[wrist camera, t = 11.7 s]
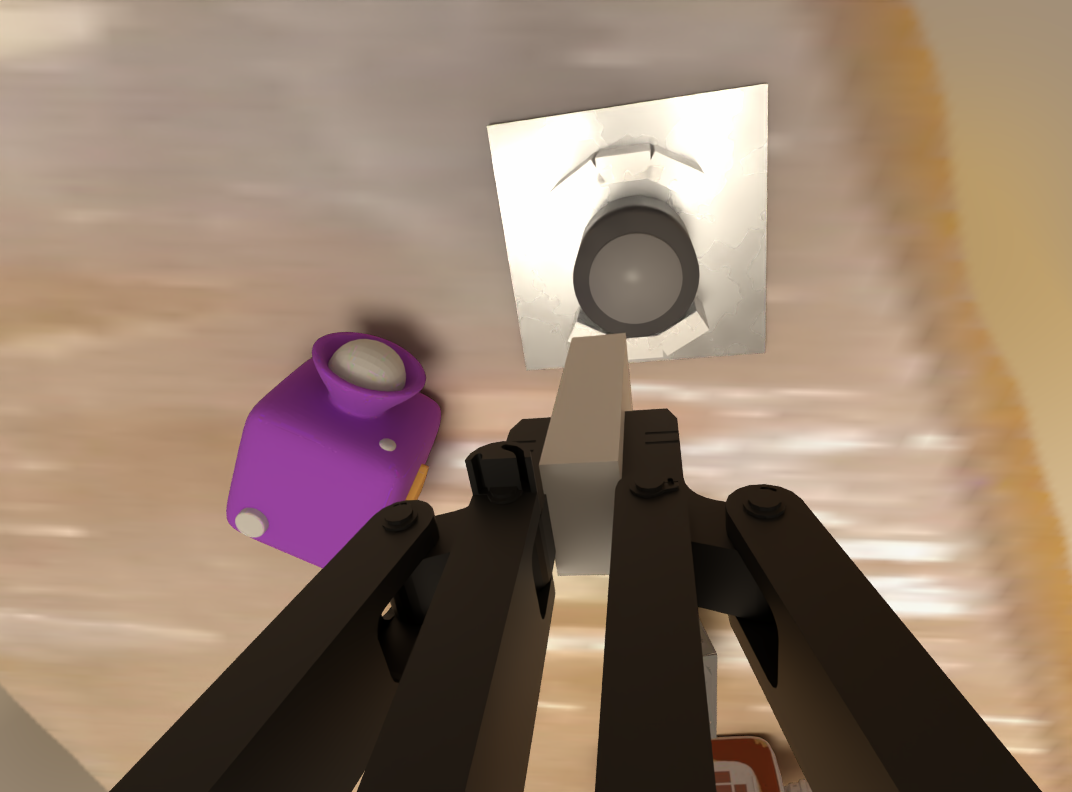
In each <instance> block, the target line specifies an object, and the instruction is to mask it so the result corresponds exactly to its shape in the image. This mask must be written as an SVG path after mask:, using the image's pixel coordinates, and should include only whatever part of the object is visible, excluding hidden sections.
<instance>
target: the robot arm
mask: <svg viewBox="0 0 1072 792" xmlns="http://www.w3.org/2000/svg"><path fill="white" fill-rule="evenodd" d="M465 463H466V467H467V471H468V476H469V480H470V484H471V489H472V493H473V496H472V499H471V501H470V504H469V506H468V507H466V508H463V509H460V510H457V511H454V512H449V513H445V514H441V515H437V516H435V515H434V511H433V508H432V507H431V506H430V505H429V504H428V503H426V502H423V501H420V500H405V501H401V502H396V503H393V504H391V505H389V506H387V507H385V508H382V509H381V510H380V511H379V512H377V513H376V514H375V515H373V516H372V517H371V518H370V520H369V521H368V522H367V523H366V524H365V525H364V526H363V527H362V528H361V529H360V530H359V531H358V532H357V533H356V534H355V535H354V536H353V537H352V538H351V539H350V540H349V541H348V543H347V544H346V545H345V546H344V547H343V548H342V549H341V550H340V551H339V552H338V553H337V554H336V555H335V556H334V557H333V558H332V559H331V560H330V561H329V562H328V563H327V564H326V566H325V567H324V568H323V569H322V570H321V571H320V572H319V573H318V574H317V575H316V576H315V577H314V578H313V579H312V580H311V581H310V582H309V583H308V584H307V585H306V586H305V588H304V589H303V590H302V591H301V592H300V593H299V594H298V595H297V596H296V597H295V598H294V599H293V600H292V601H291V602H290V603H289V604H288V605H287V606H286V607H285V608H284V609H283V611H282V612H281V613H280V614H279V615H278V616H277V617H276V618H275V619H274V620H273V621H272V622H271V623H270V624H269V625H268V626H267V627H266V628H265V629H264V630H263V631H262V632H261V634H260V635H259V636H258V637H257V638H256V639H255V640H254V641H253V642H252V643H251V644H250V645H249V646H248V647H247V648H246V649H245V650H244V651H243V652H242V653H241V654H240V655H239V657H238V658H237V659H236V660H235V661H234V662H233V663H232V664H231V665H230V666H229V667H228V668H227V669H226V670H225V671H224V672H223V673H222V674H221V675H220V676H219V677H218V678H217V680H216V681H215V682H214V683H213V684H212V685H211V686H210V687H209V688H208V689H207V690H206V691H205V692H204V693H203V694H202V695H201V696H200V697H199V698H198V699H197V700H196V702H195V703H194V704H193V705H192V706H191V707H190V708H189V709H188V710H187V711H186V712H185V713H184V714H183V715H182V716H181V717H180V718H179V719H178V720H177V721H176V722H175V723H174V725H173V726H172V727H171V728H170V729H169V730H168V731H167V732H166V733H165V734H164V735H163V736H162V737H161V738H160V739H159V740H158V741H157V742H156V743H155V744H154V745H153V746H152V748H151V749H150V750H149V751H148V752H147V753H146V754H145V755H144V756H143V757H142V758H141V759H140V760H139V761H138V762H137V763H136V764H135V765H134V766H133V767H132V768H131V769H130V771H129V772H128V773H127V774H126V775H125V776H124V777H123V778H122V779H121V780H120V781H119V782H118V783H117V784H116V785H115V786H114V787H113V788H112V789H111V790H110V791H109V792H352V790H353V789H354V787H355V785H356V784H357V782H358V781H359V779H360V777H361V776H362V774H363V773H364V774H363V777H362V780H361V782H360V785H359V787H358V790H357V792H524V786H525V780H526V773H527V767H528V761H529V755H530V748H531V742H532V736H533V730H534V723H535V717H536V711H537V705H538V698H539V692H540V686H541V680H542V673H543V667H544V661H545V655H546V648H547V642H548V636H549V630H550V624H551V617H552V611H553V605H554V599H555V587H554V581H553V575H552V571H553V565H554V560H555V561H556V567H557V573H558V576H567V575H609V588H608V603H607V618H606V633H605V648H604V663H603V678H602V693H601V708H600V723H599V738H598V754H597V769H596V784H595V792H717V791H716V782H715V772H714V762H713V752H712V742H711V733H710V723H709V713H708V703H707V693H706V684H705V674H704V664H703V654H702V644H701V635H700V625H699V615H698V607H701V608H705V609H709V610H713V611H717V612H721V613H725V614H728V616H729V621H730V625H731V627H732V629H733V631H734V633H735V635H736V637H737V639H738V641H739V643H740V645H741V647H742V649H743V651H744V653H745V655H746V657H747V659H748V661H749V663H750V666H751V668H752V670H753V672H754V674H755V676H756V678H757V680H758V682H759V684H760V686H761V688H762V690H763V692H764V694H765V696H766V698H767V700H768V702H769V704H770V706H771V708H772V710H773V712H774V715H775V717H776V719H777V721H778V723H779V725H780V727H781V729H782V731H783V733H784V735H785V737H786V739H787V741H788V743H789V745H790V747H791V749H792V751H793V753H794V755H795V757H796V759H797V761H798V764H799V766H800V768H801V770H802V772H803V774H804V776H805V778H806V780H807V782H808V784H809V786H810V788H811V790H812V792H1042V791H1041V790H1040V789H1039V788H1038V786H1037V785H1036V784H1035V783H1034V781H1033V780H1032V779H1031V778H1030V777H1029V775H1028V774H1027V773H1026V772H1025V771H1024V769H1023V768H1022V767H1021V766H1020V764H1019V763H1018V762H1017V761H1016V760H1015V758H1014V757H1013V756H1012V755H1011V753H1010V752H1009V751H1008V750H1007V749H1006V747H1005V746H1004V745H1003V744H1002V743H1001V741H1000V740H999V739H998V738H997V736H996V735H995V734H994V733H993V732H992V730H991V729H990V728H989V727H988V725H987V724H986V723H985V722H984V721H983V719H982V718H981V717H980V716H979V715H978V713H977V712H976V711H975V710H974V708H973V707H972V706H971V705H970V704H969V702H968V701H967V700H966V699H965V697H964V696H963V695H962V694H961V693H960V691H959V690H958V689H957V688H956V686H955V685H954V684H953V683H952V682H951V680H950V679H949V678H948V677H947V676H946V674H945V673H944V672H943V671H942V669H941V668H940V667H939V666H938V665H937V663H936V662H935V661H934V660H933V658H932V657H931V656H930V655H929V654H928V652H927V651H926V650H925V649H924V648H923V646H922V645H921V644H920V643H919V641H918V640H917V639H916V638H915V637H914V635H913V634H912V633H911V632H910V630H909V629H908V628H907V627H906V626H905V624H904V623H903V622H902V621H901V620H900V618H899V617H898V616H897V615H896V613H895V612H894V611H893V610H892V609H891V607H890V606H889V605H888V604H887V602H886V601H885V600H884V599H883V598H882V596H881V595H880V594H879V593H878V592H877V590H876V589H875V588H874V587H873V585H872V584H871V583H870V582H869V581H868V579H867V578H866V577H865V576H864V574H863V573H862V572H861V571H860V570H859V568H858V567H857V566H856V565H855V564H854V562H853V561H852V560H851V559H850V557H849V556H848V555H847V554H846V553H845V551H844V550H843V549H842V548H841V546H840V545H839V544H838V543H837V542H836V540H835V539H834V538H833V537H832V536H831V534H830V533H829V532H828V531H827V529H826V528H825V527H824V526H823V525H822V523H821V522H820V521H819V520H818V518H817V517H816V516H815V515H814V514H813V512H812V511H811V510H810V509H809V508H808V506H807V505H806V504H805V503H804V501H803V500H802V499H801V498H800V497H798V496H797V495H796V494H795V493H793V492H792V491H789V490H787V489H784V488H782V487H779V486H773V485H766V484H760V485H749V486H745V487H742V488H739V489H737V490H735V491H734V492H733V493H731V494H730V495H729V496H728V498H727V501H726V502H724V501H718V500H713V499H709V498H705V497H703V496H701V495H698V494H696V493H695V492H693V491H692V490H691V489H689V487H688V486H687V485H686V484H685V481H684V478H683V469H682V460H681V450H680V441H679V431H678V422H677V418H676V417H675V416H674V415H673V414H672V413H671V412H670V411H669V410H668V409H652V410H636V411H633V406H632V396H631V385H630V375H629V364H628V353H627V343H626V333H618V334H607V335H595V336H584V337H573V338H572V339H571V343H570V347H569V351H568V354H567V358H566V362H565V366H564V370H563V374H562V378H561V381H560V385H559V389H558V393H557V397H556V401H555V404H554V408H553V412H552V416H551V417H549V418H533V419H522V420H521V421H520V422H519V423H517V424H516V425H515V426H514V427H513V428H512V429H511V430H510V432H509V435H508V438H507V440H506V441H502V442H496V443H491V444H488V445H485V446H482V447H480V448H478V449H476V450H475V451H473V452H472V453H470V455H469V456H468V457H467V458H466V460H465ZM389 602H390V603H391V606H392V607H391V608H390V609H389V610H388V612H387V613H386V614H385V615H384V616H382V615H381V614H382V612H383V610H384V609H385V607H386V606H387V605H388V603H389ZM364 771H365V772H364Z"/></svg>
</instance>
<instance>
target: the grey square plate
mask: <svg viewBox="0 0 1072 792" xmlns="http://www.w3.org/2000/svg"><path fill="white" fill-rule="evenodd" d="M487 131H488V137H489V143H490V149H491V155H492V162H493V168H494V174H495V180H496V186H497V192H498V198H499V204H500V211H501V217H502V223H503V229H504V235H505V241H506V247H507V253H508V260H509V266H510V272H511V278H512V284H513V290H514V296H515V302H516V309H517V315H518V321H519V327H520V333H521V339H522V345H523V351H524V358H525V364H526V370H539V369H553V368H564V366H565V362H566V358H567V354H568V351H569V347H570V343H571V339H572V338H573V337H584V336H595V335H607V334H613V333H610V332H608V331H606V330H604V329H602V328H600V327H599V326H598V325H596V324H595V323H594V322H592V321H591V320H590V319H589V318H588V317H587V315H586V314H585V313H584V311H583V310H582V308H581V307H580V305H579V303H578V300H577V298H576V295H575V291H574V286H573V271H574V265H575V261H576V257H577V254H578V250H579V246H580V242H581V239H582V235H583V232H584V230H585V228H586V226H587V224H588V222H589V221H590V220H591V218H592V217H593V216H594V215H595V214H596V213H597V212H598V211H599V210H600V209H601V208H602V207H604V206H605V205H607V204H608V203H610V202H612V201H614V200H617V199H620V198H623V197H628V196H646V197H651V198H655V199H657V200H659V201H662V202H664V203H665V204H667V205H668V206H670V207H671V208H672V209H673V210H675V212H676V213H677V214H678V215H679V216H680V218H681V219H682V220H683V222H684V224H685V226H686V228H687V231H688V234H689V236H690V239H691V242H692V245H693V247H694V250H695V253H696V256H697V259H698V264H699V273H700V277H699V285H698V289H697V293H696V296H695V298H694V300H693V302H692V304H691V306H690V307H689V309H688V310H687V312H686V313H685V314H684V315H683V316H682V317H681V318H680V319H679V320H678V321H677V322H676V323H674V324H673V325H672V326H670V327H669V328H667V329H665V330H663V331H661V332H658V333H655V334H653V335H648V336H643V337H626V343H627V353H628V363H635V362H649V361H662V360H676V359H690V358H703V357H717V356H731V355H744V354H758V353H765V333H766V239H767V146H768V83H765V84H758V85H752V86H745V87H738V88H732V89H725V90H719V91H712V92H705V93H699V94H692V95H686V96H679V97H672V98H666V99H659V100H653V101H646V102H640V103H633V104H626V105H620V106H613V107H607V108H600V109H593V110H587V111H580V112H574V113H567V114H560V115H554V116H547V117H541V118H534V119H527V120H521V121H514V122H508V123H501V124H494V125H489V126H487Z"/></svg>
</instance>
